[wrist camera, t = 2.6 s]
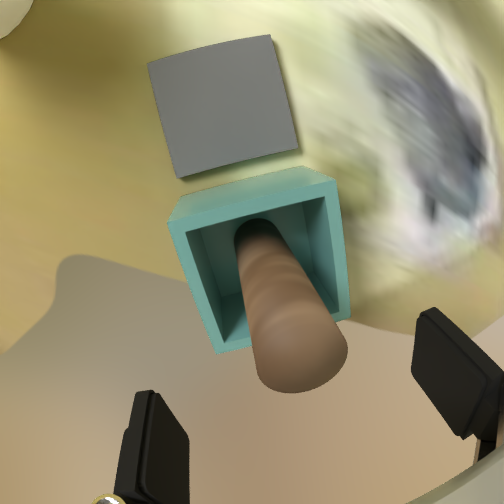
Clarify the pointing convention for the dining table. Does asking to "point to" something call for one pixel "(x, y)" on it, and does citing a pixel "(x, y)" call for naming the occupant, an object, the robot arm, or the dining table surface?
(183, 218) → the teal open box
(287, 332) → the dowel
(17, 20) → the foam cup
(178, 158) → the coaster
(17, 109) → the dining table surface
